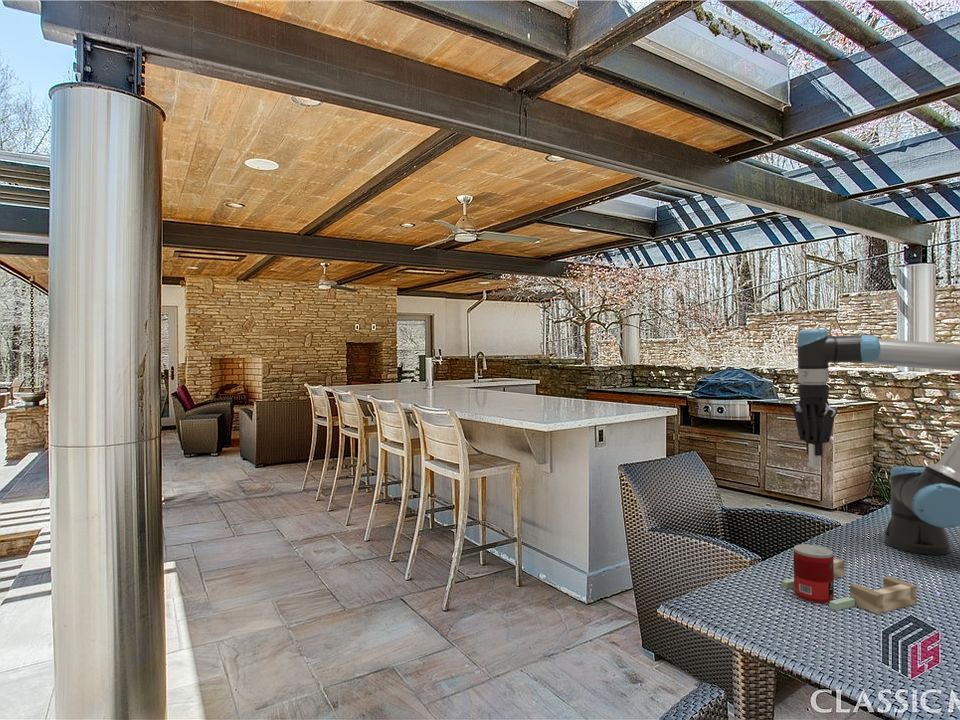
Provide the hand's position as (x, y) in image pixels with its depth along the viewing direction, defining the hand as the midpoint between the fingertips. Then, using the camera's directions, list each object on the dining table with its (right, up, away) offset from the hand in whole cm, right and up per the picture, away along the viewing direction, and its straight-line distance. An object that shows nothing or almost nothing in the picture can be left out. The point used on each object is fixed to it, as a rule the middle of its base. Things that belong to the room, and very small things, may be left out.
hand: (814, 466), depth 160 cm
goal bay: (-17, -25, -29) cm, 41 cm away
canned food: (-17, -25, -29) cm, 42 cm away
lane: (-7, -25, -27) cm, 37 cm away
